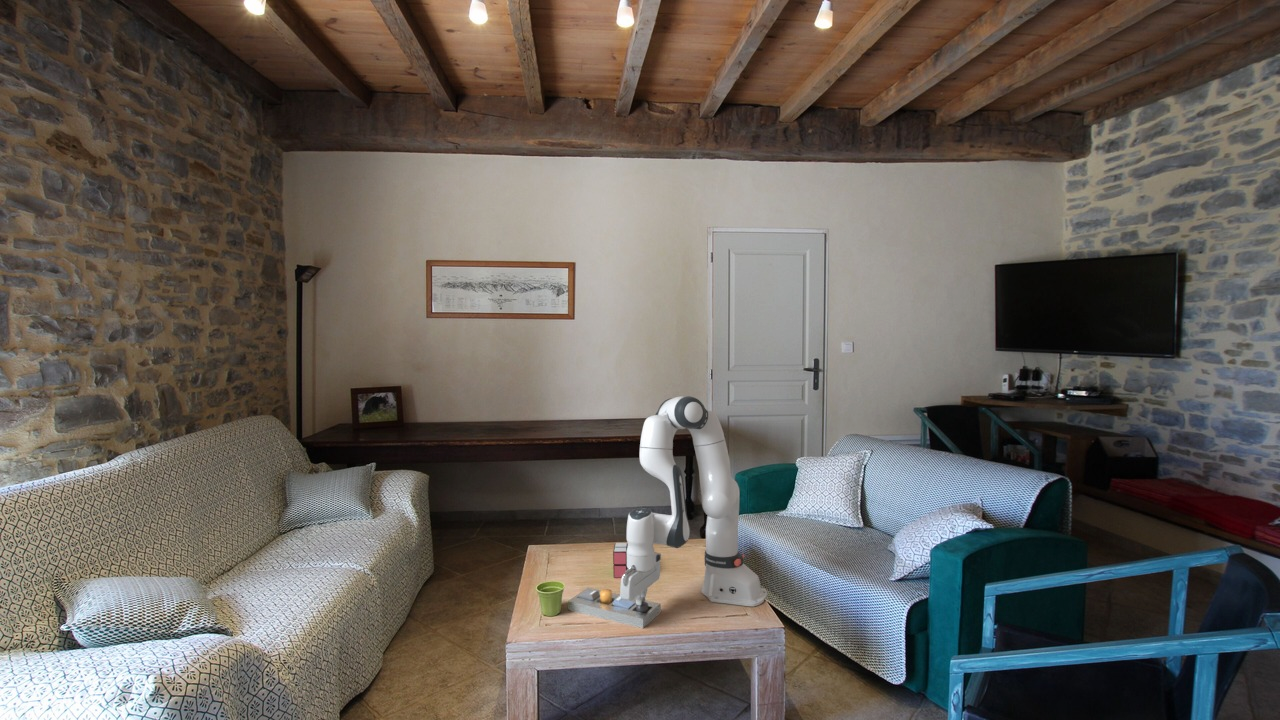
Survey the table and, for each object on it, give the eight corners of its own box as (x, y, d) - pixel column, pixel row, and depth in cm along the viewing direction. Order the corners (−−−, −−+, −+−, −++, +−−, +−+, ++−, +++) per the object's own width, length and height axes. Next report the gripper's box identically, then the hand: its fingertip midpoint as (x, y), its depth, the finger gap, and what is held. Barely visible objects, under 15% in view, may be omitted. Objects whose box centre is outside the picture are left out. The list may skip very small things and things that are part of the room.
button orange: (614, 601, 204) (613, 590, 204) (608, 605, 201) (607, 594, 201) (604, 598, 206) (604, 588, 206) (598, 603, 203) (597, 592, 203)
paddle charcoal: (599, 595, 207) (598, 589, 207) (592, 600, 204) (591, 594, 204) (586, 596, 210) (584, 591, 210) (579, 601, 206) (578, 595, 207)
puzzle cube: (640, 578, 229) (640, 551, 229) (613, 578, 230) (613, 551, 229) (641, 567, 239) (640, 542, 239) (615, 568, 240) (614, 542, 239)
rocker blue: (633, 607, 201) (634, 602, 201) (627, 612, 198) (628, 607, 197) (619, 600, 204) (620, 594, 203) (612, 605, 200) (614, 599, 200)
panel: (660, 612, 201) (660, 603, 201) (643, 628, 190) (642, 618, 190) (588, 596, 214) (588, 587, 214) (568, 609, 204) (567, 601, 204)
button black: (650, 614, 198) (650, 603, 198) (644, 618, 195) (644, 607, 195) (639, 611, 200) (639, 600, 200) (634, 616, 197) (634, 605, 196)
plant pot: (538, 621, 196) (537, 594, 196) (534, 608, 205) (534, 582, 205) (567, 616, 199) (567, 590, 199) (562, 604, 208) (562, 579, 208)
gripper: (632, 574, 186) (633, 619, 187) (663, 552, 204) (664, 593, 205) (614, 570, 189) (615, 614, 190) (647, 549, 207) (647, 589, 208)
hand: (640, 603), depth 198 cm, fingers closed, pressing on button black
